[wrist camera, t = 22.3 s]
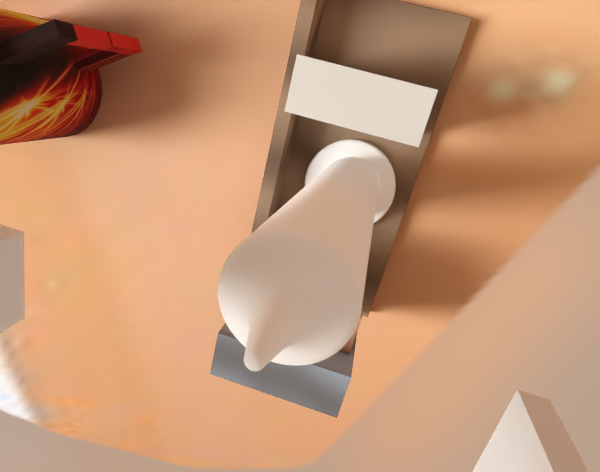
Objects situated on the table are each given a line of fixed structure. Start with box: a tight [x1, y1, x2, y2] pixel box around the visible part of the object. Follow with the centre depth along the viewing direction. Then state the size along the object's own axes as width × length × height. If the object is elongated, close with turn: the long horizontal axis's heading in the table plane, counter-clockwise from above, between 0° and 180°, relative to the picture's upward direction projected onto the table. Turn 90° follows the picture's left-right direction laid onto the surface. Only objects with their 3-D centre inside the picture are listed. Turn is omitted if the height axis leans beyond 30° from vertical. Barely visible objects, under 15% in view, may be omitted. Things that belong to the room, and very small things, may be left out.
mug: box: [0, 9, 142, 145], centre depth 30 cm, size 10×14×12 cm
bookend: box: [285, 54, 438, 147], centre depth 26 cm, size 3×8×9 cm, turn 76°
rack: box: [210, 0, 472, 418], centre depth 27 cm, size 24×11×14 cm, turn 166°
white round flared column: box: [218, 139, 396, 371], centre depth 21 cm, size 7×7×25 cm
